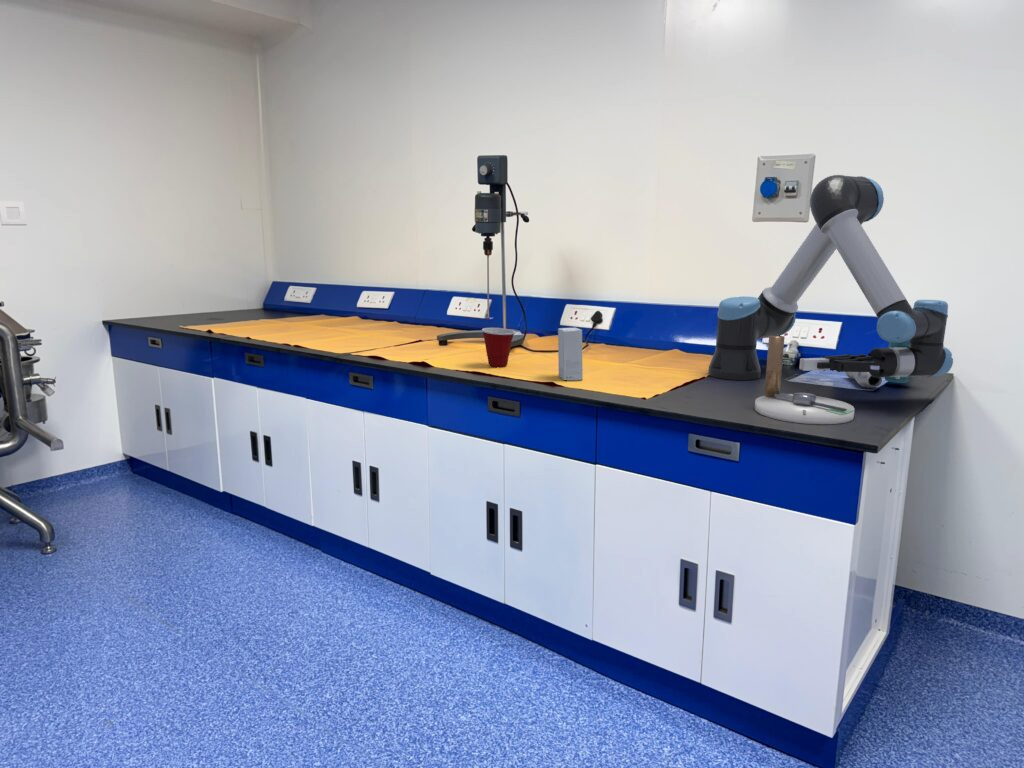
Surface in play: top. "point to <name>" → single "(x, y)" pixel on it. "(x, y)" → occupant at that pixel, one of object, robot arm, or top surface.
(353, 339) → the top surface
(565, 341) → the skincare box
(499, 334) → the plastic cup
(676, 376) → the top surface
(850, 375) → the silver metal bottle
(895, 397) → the top surface
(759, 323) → the robot arm
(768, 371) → the crank handle
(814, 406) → the round white plate
